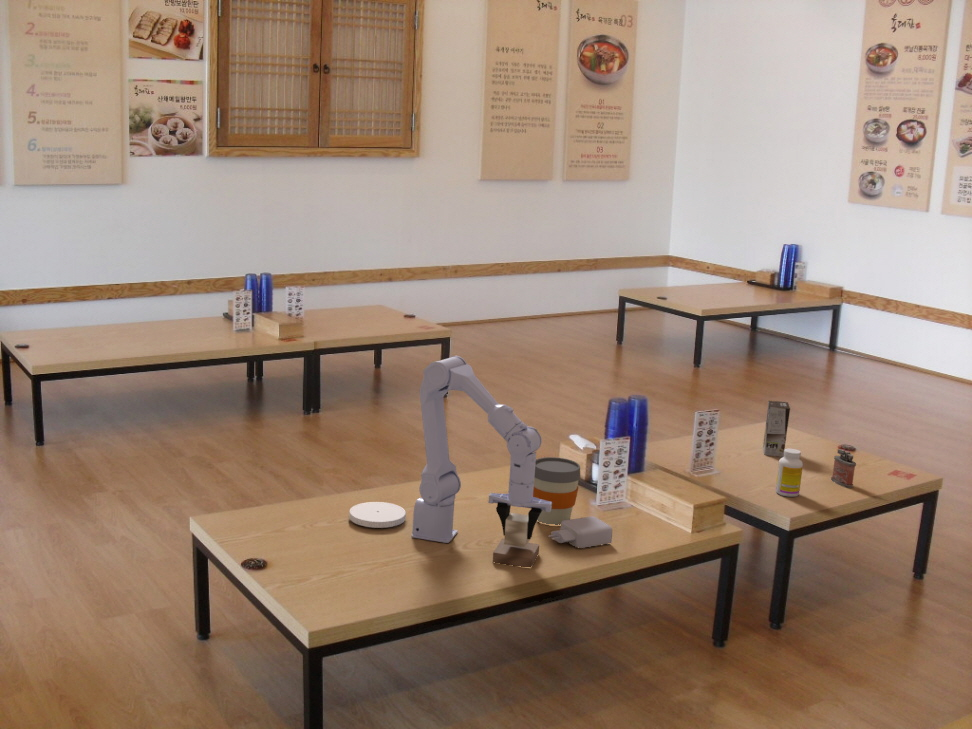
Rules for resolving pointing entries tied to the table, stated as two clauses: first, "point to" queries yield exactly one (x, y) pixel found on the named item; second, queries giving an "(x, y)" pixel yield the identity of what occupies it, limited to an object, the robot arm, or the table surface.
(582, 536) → the charger
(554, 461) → the reusable coffee cup
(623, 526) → the table surface
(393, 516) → the plastic lid
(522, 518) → the maple block
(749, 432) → the table surface
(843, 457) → the lighter
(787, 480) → the supplement bottle
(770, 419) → the coffee box
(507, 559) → the walnut slab
